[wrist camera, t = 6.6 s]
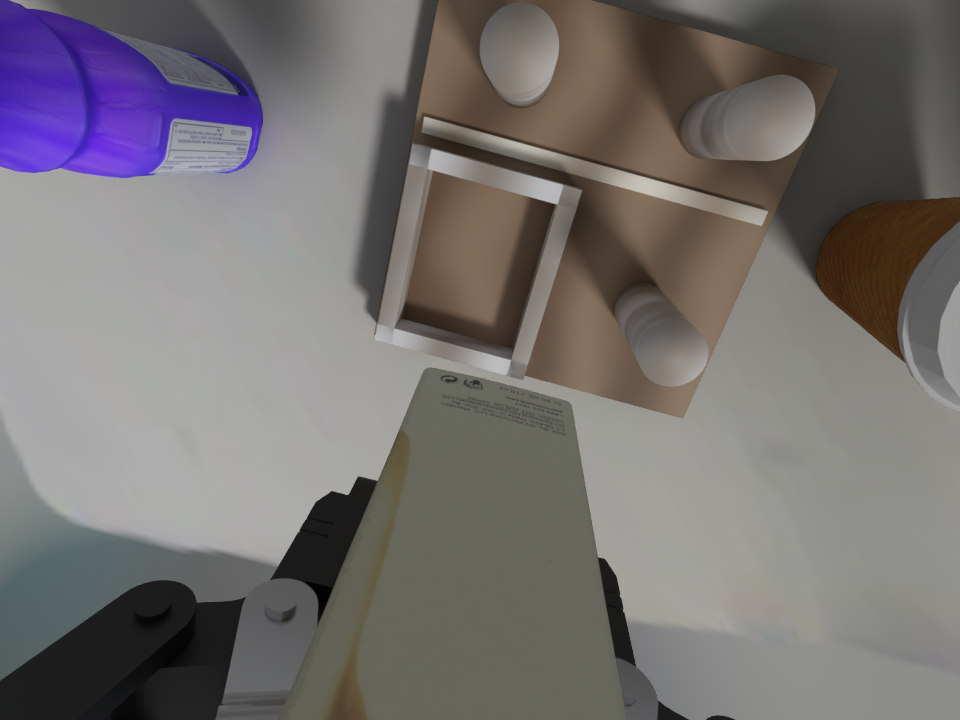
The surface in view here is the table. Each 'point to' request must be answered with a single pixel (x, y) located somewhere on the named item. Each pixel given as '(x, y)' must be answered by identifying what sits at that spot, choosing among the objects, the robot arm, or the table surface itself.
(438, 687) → the skincare box
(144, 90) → the bottle
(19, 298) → the table surface
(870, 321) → the disposable coffee cup
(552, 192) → the pin board
